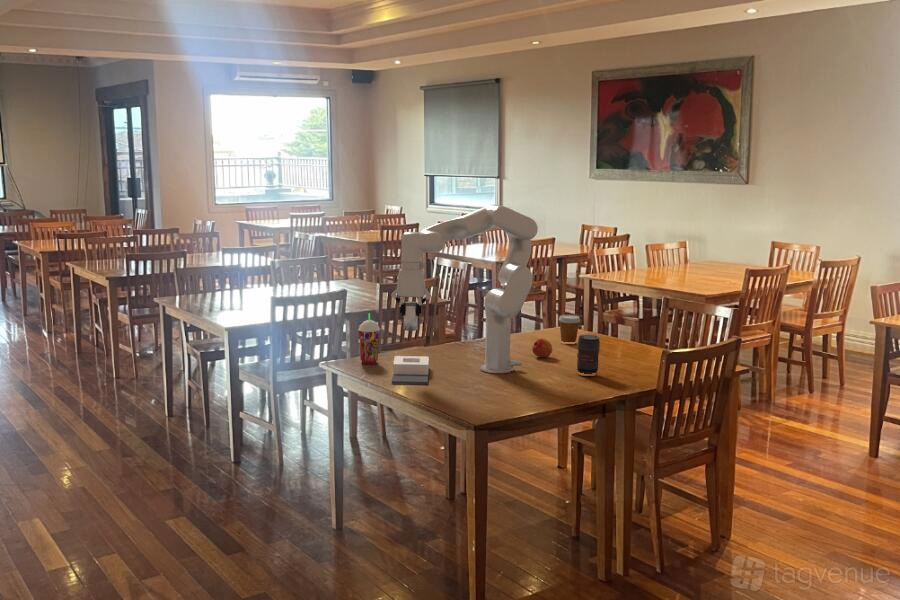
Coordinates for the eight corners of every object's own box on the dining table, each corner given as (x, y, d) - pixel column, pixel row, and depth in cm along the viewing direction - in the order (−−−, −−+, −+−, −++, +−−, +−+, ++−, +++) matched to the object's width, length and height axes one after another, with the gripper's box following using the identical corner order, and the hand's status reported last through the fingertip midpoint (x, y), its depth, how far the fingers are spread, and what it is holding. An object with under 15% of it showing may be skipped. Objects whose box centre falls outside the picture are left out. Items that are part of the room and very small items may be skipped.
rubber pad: (428, 377, 325) (428, 374, 325) (427, 384, 316) (427, 381, 315) (393, 376, 325) (393, 374, 325) (391, 383, 315) (391, 381, 315)
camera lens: (580, 378, 329) (582, 339, 326) (573, 372, 337) (575, 334, 334) (600, 377, 330) (602, 338, 327) (594, 372, 338) (595, 334, 335)
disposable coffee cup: (573, 346, 382) (574, 319, 380) (554, 343, 387) (555, 317, 385) (582, 342, 390) (584, 316, 388) (563, 340, 395) (564, 313, 393)
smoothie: (376, 366, 341) (376, 315, 338) (355, 364, 343) (355, 314, 339) (382, 361, 349) (382, 311, 346) (362, 359, 351) (362, 310, 347)
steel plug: (417, 328, 324) (418, 301, 323) (416, 331, 319) (417, 304, 318) (404, 327, 324) (404, 301, 323) (403, 330, 320) (403, 303, 318)
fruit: (532, 354, 365) (533, 336, 364) (552, 355, 364) (553, 337, 363) (531, 359, 357) (532, 340, 356) (551, 360, 356) (552, 341, 355)
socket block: (428, 367, 340) (428, 356, 339) (428, 376, 327) (428, 364, 326) (394, 367, 340) (395, 356, 339) (393, 375, 327) (393, 364, 326)
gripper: (435, 265, 322) (434, 314, 325) (389, 264, 322) (388, 312, 325) (434, 268, 314) (433, 318, 317) (387, 266, 314) (386, 316, 317)
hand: (410, 314), depth 321 cm, fingers closed on steel plug, 5 cm apart
